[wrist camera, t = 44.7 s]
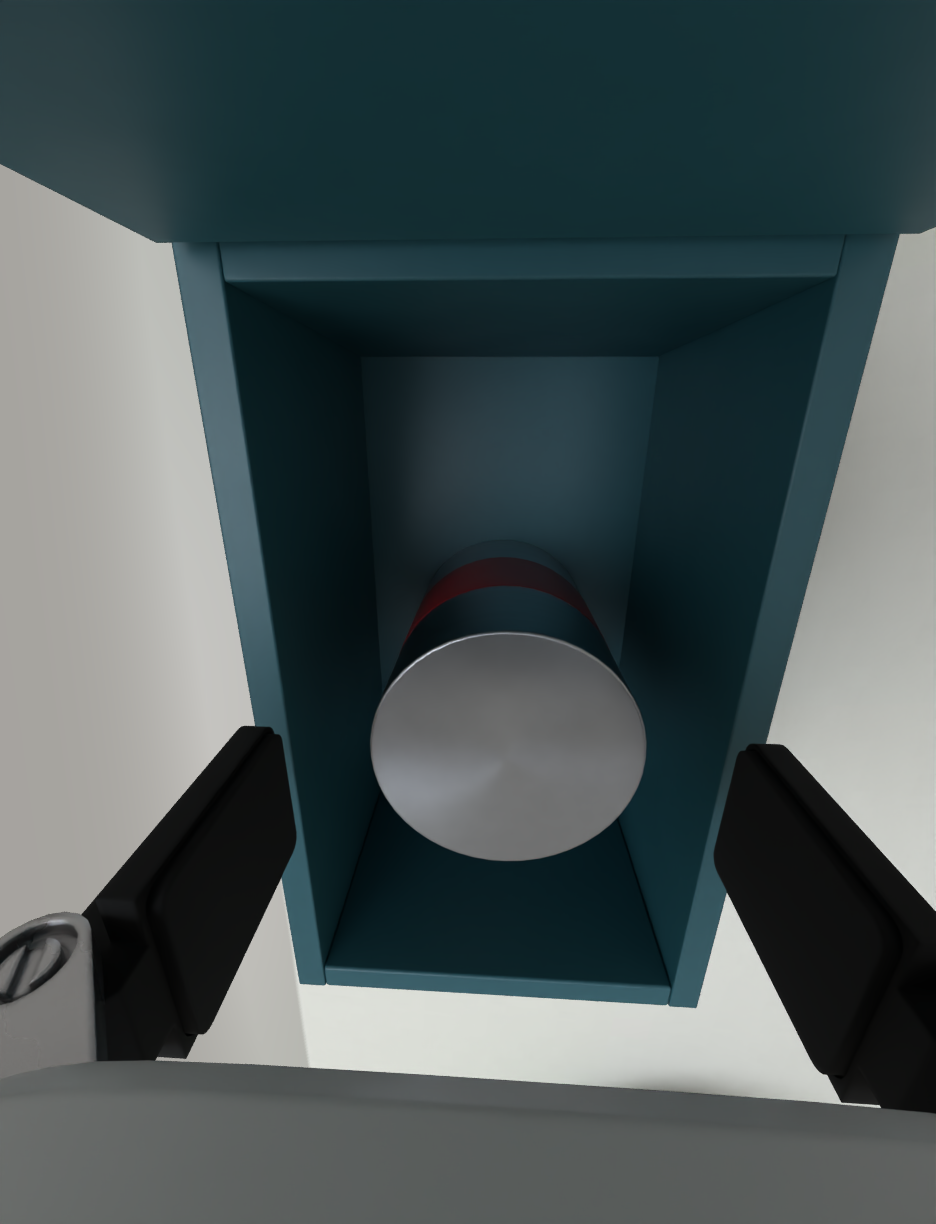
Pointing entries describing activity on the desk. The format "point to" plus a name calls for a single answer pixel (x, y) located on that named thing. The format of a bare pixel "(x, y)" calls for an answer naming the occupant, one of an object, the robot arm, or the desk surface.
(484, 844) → the can
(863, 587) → the desk surface
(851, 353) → the cool box
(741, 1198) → the robot arm
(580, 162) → the lid
